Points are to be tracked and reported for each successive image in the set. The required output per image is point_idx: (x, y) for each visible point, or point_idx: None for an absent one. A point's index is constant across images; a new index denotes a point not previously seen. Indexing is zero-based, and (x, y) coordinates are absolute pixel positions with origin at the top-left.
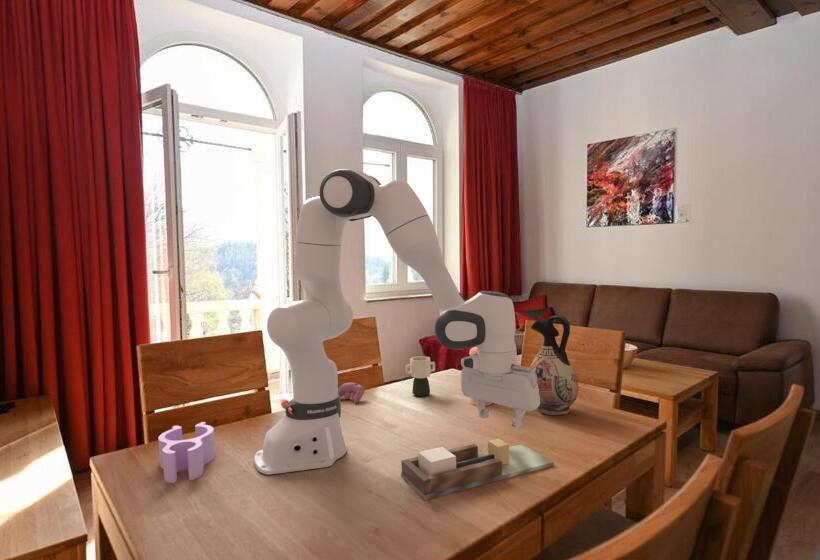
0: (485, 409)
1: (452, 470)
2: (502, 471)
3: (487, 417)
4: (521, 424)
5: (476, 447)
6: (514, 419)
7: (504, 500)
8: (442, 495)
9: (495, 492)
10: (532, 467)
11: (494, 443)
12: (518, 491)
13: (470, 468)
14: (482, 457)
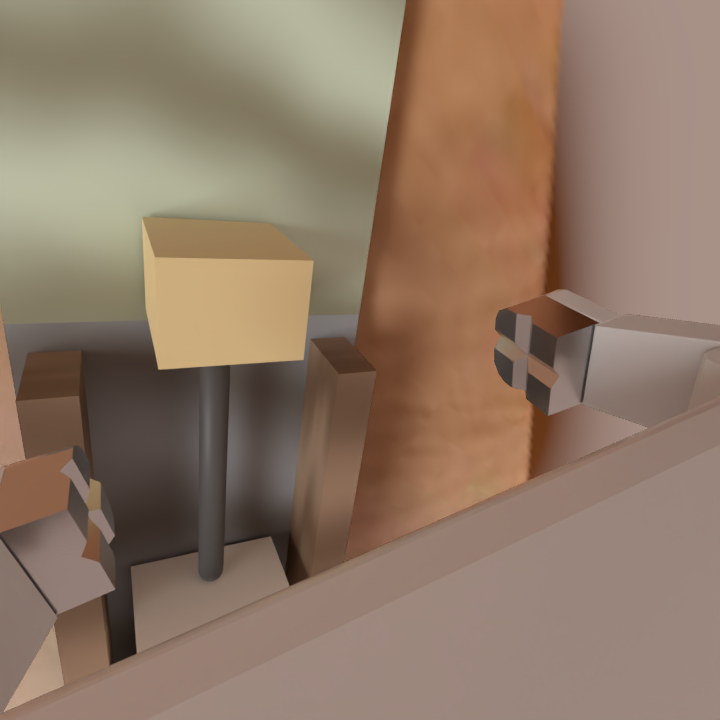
0: (23, 545)
1: None
2: (319, 316)
3: (84, 455)
4: (565, 292)
5: (80, 402)
6: (587, 405)
7: (463, 414)
8: None
9: (407, 416)
10: (384, 127)
11: (235, 349)
12: (458, 335)
13: (344, 534)
14: (224, 410)
